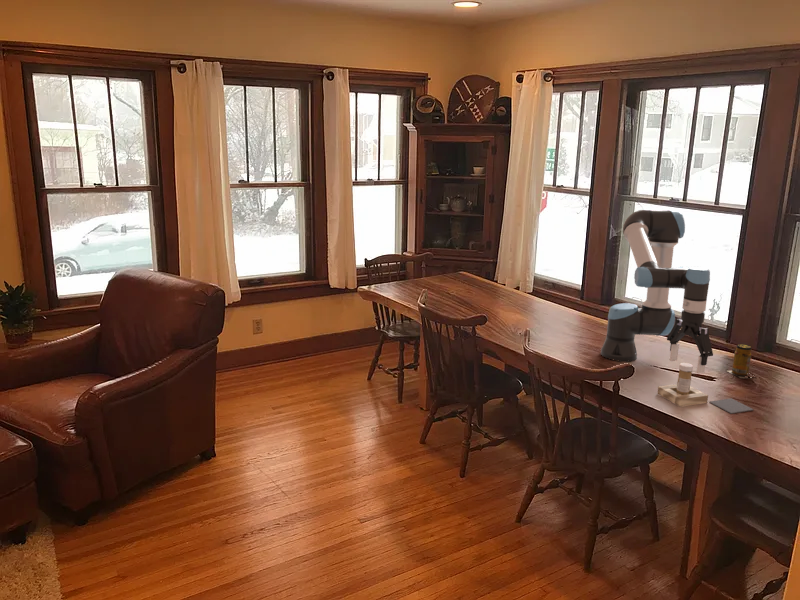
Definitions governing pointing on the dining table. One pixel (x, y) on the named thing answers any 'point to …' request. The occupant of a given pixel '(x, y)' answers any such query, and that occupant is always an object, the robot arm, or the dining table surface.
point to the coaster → (731, 406)
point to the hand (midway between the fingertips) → (686, 366)
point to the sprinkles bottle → (684, 378)
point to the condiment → (741, 361)
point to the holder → (682, 396)
